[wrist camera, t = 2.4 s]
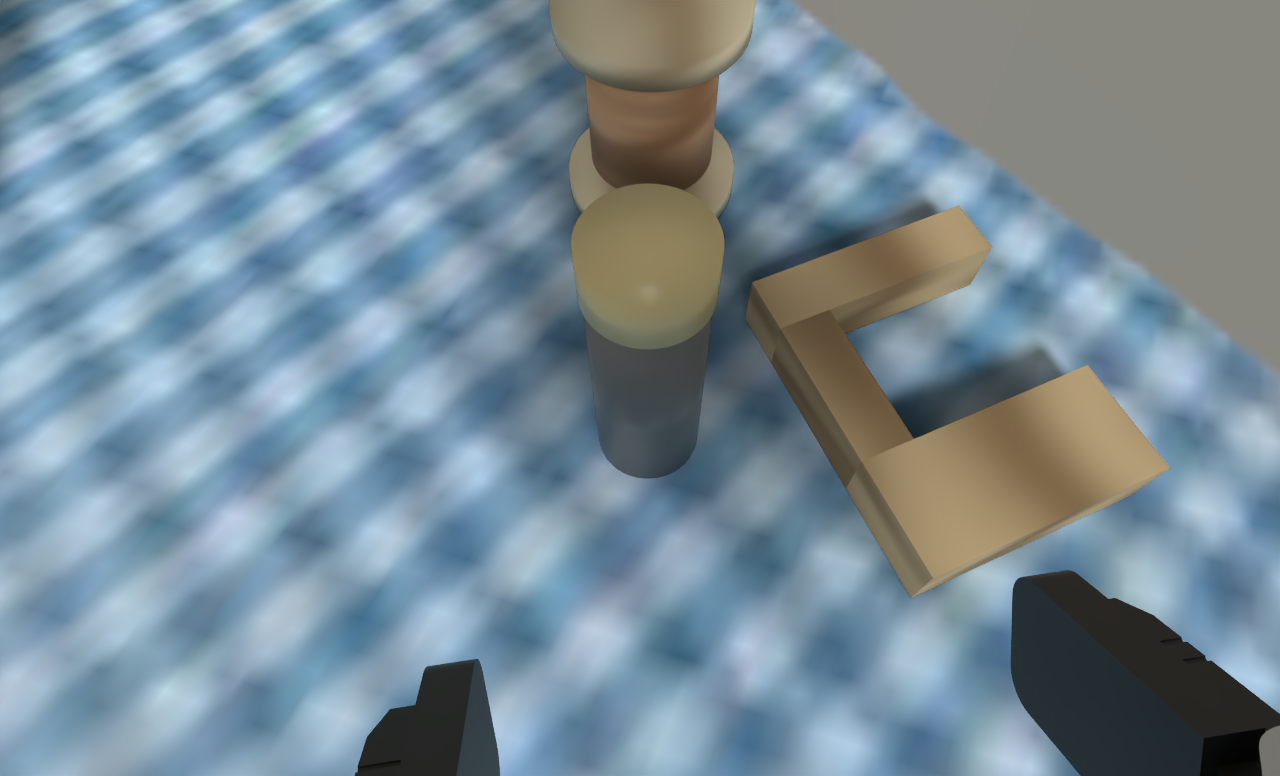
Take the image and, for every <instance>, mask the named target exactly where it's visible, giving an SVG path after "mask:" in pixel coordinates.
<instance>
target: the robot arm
mask: <svg viewBox="0 0 1280 776" xmlns="http://www.w3.org/2000/svg"><path fill="white" fill-rule="evenodd" d="M1011 673H1012V679H1013V683H1014V686H1015V689H1016V692H1017V695H1018V697H1019V699H1020V701H1021V703H1022V705H1023V706H1024V708H1025V709H1026V711H1027V712H1028V713H1029V714H1030V716H1031V717H1032V718H1033V719H1034V720H1035V722H1036V723H1037V724H1038V725H1039V726H1040V728H1041V729H1042V730H1043V731H1044V732H1045V734H1046V735H1047V736H1048V737H1049V738H1050V740H1051V741H1052V742H1053V743H1054V744H1055V746H1056V747H1057V748H1058V749H1059V750H1060V752H1061V753H1062V754H1063V755H1064V756H1065V758H1066V759H1067V760H1068V761H1069V762H1070V764H1071V765H1072V766H1073V767H1074V768H1075V769H1076V771H1077V772H1078V773H1079V774H1080V775H1081V776H1280V714H1279V713H1278V712H1276V711H1275V710H1274V709H1272V708H1271V707H1270V706H1269V705H1267V704H1266V703H1265V702H1264V701H1262V700H1261V699H1260V698H1258V697H1257V696H1256V695H1255V694H1253V693H1252V692H1251V691H1249V690H1248V689H1247V688H1246V687H1244V686H1243V685H1242V684H1240V683H1239V682H1238V681H1237V680H1235V679H1234V678H1233V677H1232V676H1230V675H1229V674H1228V673H1226V672H1225V671H1224V670H1223V669H1221V668H1220V667H1219V666H1217V665H1216V664H1215V663H1214V662H1212V661H1207V660H1206V658H1205V655H1203V654H1202V653H1201V652H1200V651H1198V650H1197V649H1196V648H1194V647H1193V646H1192V645H1191V644H1189V643H1188V642H1183V641H1182V638H1181V637H1180V636H1179V635H1178V634H1177V633H1175V632H1174V631H1173V630H1171V629H1170V628H1169V627H1168V626H1166V625H1165V624H1164V623H1162V622H1161V621H1160V620H1159V619H1157V618H1156V617H1155V616H1154V615H1152V614H1149V613H1147V612H1145V611H1143V610H1141V609H1138V608H1136V607H1134V606H1132V605H1129V604H1127V603H1125V602H1123V601H1121V600H1118V599H1116V598H1112V599H1108V598H1106V597H1105V596H1104V595H1103V594H1101V593H1100V592H1099V591H1098V590H1096V589H1095V588H1094V587H1093V586H1092V585H1090V584H1089V583H1088V582H1087V581H1085V580H1084V579H1083V578H1082V577H1081V576H1079V575H1078V574H1077V573H1075V572H1073V571H1070V570H1066V571H1060V572H1053V573H1047V574H1040V575H1033V576H1027V577H1021V578H1019V579H1017V581H1016V582H1015V584H1014V587H1013V598H1012V637H1011ZM355 776H500V767H499V757H498V749H497V743H496V738H495V733H494V728H493V723H492V717H491V712H490V707H489V702H488V697H487V692H486V686H485V681H484V676H483V671H482V667H481V664H480V662H479V660H478V659H473V660H467V661H460V662H454V663H447V664H441V665H434V666H427V667H426V668H425V670H424V673H423V677H422V681H421V685H420V689H419V693H418V697H417V701H416V705H413V706H407V707H400V708H394V709H390V710H389V711H388V713H387V714H386V715H385V716H384V717H383V719H382V720H381V721H380V722H379V723H378V725H377V726H376V727H375V728H374V729H373V731H372V732H371V733H370V734H369V735H368V737H367V739H366V742H365V745H364V748H363V751H362V755H361V758H360V761H359V764H358V772H357V773H355Z"/></svg>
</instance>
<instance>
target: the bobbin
mask: <svg viewBox="0 0 1280 776" xmlns="http://www.w3.org/2000/svg"><path fill="white" fill-rule="evenodd" d="M755 5H756V0H549V8H550V16H551V25H552V32H553V36H554V41H555V43H556V45H557V47H558V49H559V51H560V52H561V54H562V55H563V57H564V58H565V59H566V60H567V61H568V62H569V63H570V64H571V65H572V66H573V67H574V68H576V69H577V70H578V71H579V72H581V73H583V74H584V75H585V82H586V94H587V106H588V118H589V128H588V129H587V130H586V131H585V132H584V133H583V134H582V135H581V136H580V138H579V139H578V141H577V142H576V144H575V146H574V148H573V150H572V153H571V156H570V162H569V175H570V183H571V191H572V195H573V199H574V202H575V204H576V206H577V208H578V210H579V211H580V213H581V214H582V213H583V211H584V210H585V209H586V208H587V207H588V206H589V205H590V204H591V203H592V202H593V201H595V200H596V199H598V198H599V197H601V196H602V195H604V194H606V193H608V192H610V191H613V190H615V189H618V188H621V187H625V186H629V185H635V184H661V185H667V186H671V187H675V188H678V189H681V190H684V191H686V192H688V193H690V194H692V195H693V196H695V197H697V198H698V199H700V200H701V201H702V202H703V203H705V204H706V205H707V206H708V207H709V208H710V209H711V210H712V212H713V213H714V214H715V216H716V217H717V219H718V218H719V216H720V215H721V214H722V212H723V211H724V209H725V207H726V206H727V204H728V201H729V198H730V195H731V189H732V182H733V174H734V161H733V156H732V153H731V150H730V147H729V145H728V144H727V142H726V140H725V139H724V137H723V136H722V135H721V134H720V133H719V132H718V131H717V130H716V129H715V128H714V124H715V113H716V102H717V92H718V81H719V75H720V74H721V73H723V72H724V71H726V70H727V69H728V68H730V67H731V66H732V65H733V64H734V63H735V62H736V61H737V60H738V59H739V58H740V57H741V55H742V54H743V53H744V51H745V49H746V48H747V46H748V43H749V41H750V38H751V34H752V28H753V20H754V12H755Z"/></svg>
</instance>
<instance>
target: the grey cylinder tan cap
mask: <svg viewBox="0 0 1280 776" xmlns="http://www.w3.org/2000/svg"><path fill="white" fill-rule="evenodd" d="M571 253H572V260H573V268H574V275H575V283H576V290H577V298H578V302H579V306H580V309H581V312H582V314H583V316H584V324H585V332H586V340H587V347H588V355H589V363H590V371H591V379H592V387H593V395H594V403H595V411H596V419H597V427H598V435H599V442H600V446H601V448H602V451H603V453H604V455H605V456H606V458H607V459H608V460H609V462H610V463H611V464H612V465H613V466H615V467H616V468H617V469H618V470H620V471H622V472H623V473H626V474H628V475H631V476H634V477H639V478H657V477H662V476H665V475H668V474H670V473H672V472H674V471H676V470H677V469H679V468H680V467H681V466H682V465H684V464H685V462H686V461H687V460H688V459H689V458H690V456H691V455H692V453H693V451H694V448H695V445H696V441H697V434H698V425H699V417H700V409H701V401H702V393H703V385H704V377H705V369H706V361H707V353H708V345H709V336H710V328H711V320H712V314H713V313H714V311H715V308H716V305H717V301H718V294H719V287H720V279H721V271H722V264H723V256H724V235H723V231H722V228H721V225H720V223H719V221H718V219H717V217H716V216H715V214H714V213H713V212H712V210H711V209H710V208H709V207H708V206H707V205H706V204H705V203H703V202H702V201H701V200H700V199H698V198H697V197H695V196H693V195H692V194H690V193H688V192H686V191H684V190H681V189H678V188H675V187H671V186H667V185H661V184H635V185H629V186H625V187H621V188H618V189H615V190H613V191H610V192H608V193H606V194H604V195H602V196H601V197H599V198H598V199H596V200H595V201H593V202H592V203H591V204H590V205H589V206H588V207H587V208H586V209H585V210H584V211H583V213H582V214H581V215H580V217H579V218H578V220H577V222H576V224H575V226H574V229H573V233H572V238H571Z"/></svg>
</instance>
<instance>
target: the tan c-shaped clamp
mask: <svg viewBox="0 0 1280 776" xmlns="http://www.w3.org/2000/svg"><path fill="white" fill-rule="evenodd" d="M991 248H992V246H991V245H990V244H989V242H988V241H987V240H986V239H985V237H984V236H983V235H982V234H981V232H980V231H979V230H978V229H977V227H976V226H975V225H974V224H973V222H972V221H971V220H970V219H969V217H968V216H967V215H966V214H965V212H964V211H963V210H962V209H961V207H960V206H957V207H954V208H951V209H948V210H946V211H943V212H940V213H938V214H935V215H932V216H930V217H927V218H924V219H921V220H919V221H916V222H913V223H911V224H908V225H905V226H903V227H900V228H897V229H894V230H892V231H889V232H886V233H884V234H881V235H878V236H876V237H873V238H870V239H867V240H865V241H862V242H859V243H857V244H854V245H851V246H849V247H846V248H843V249H840V250H838V251H835V252H832V253H830V254H827V255H824V256H822V257H819V258H816V259H813V260H811V261H808V262H805V263H803V264H800V265H797V266H795V267H792V268H789V269H787V270H784V271H781V272H778V273H776V274H773V275H770V276H768V277H765V278H762V279H760V280H757V281H754V282H752V285H751V290H750V295H749V300H748V306H747V311H746V316H745V319H746V321H747V322H748V324H749V326H750V327H751V329H752V331H753V332H754V334H755V336H756V337H757V339H758V341H759V342H760V344H761V346H762V348H763V349H764V351H765V353H766V354H767V356H768V358H769V359H770V361H771V363H772V364H773V366H774V368H775V370H776V371H777V373H778V375H779V376H780V378H781V380H782V381H783V383H784V385H785V386H786V388H787V390H788V391H789V393H790V395H791V397H792V398H793V400H794V402H795V403H796V405H797V407H798V408H799V410H800V412H801V413H802V415H803V417H804V418H805V420H806V422H807V424H808V425H809V427H810V429H811V430H812V432H813V434H814V435H815V437H816V439H817V440H818V442H819V444H820V445H821V447H822V449H823V451H824V452H825V454H826V456H827V457H828V459H829V461H830V462H831V464H832V466H833V467H834V469H835V471H836V473H837V474H838V476H839V478H840V479H841V481H842V483H843V484H844V486H845V488H846V489H847V491H848V493H849V494H850V496H851V498H852V500H853V501H854V503H855V505H856V506H857V508H858V510H859V511H860V513H861V515H862V516H863V518H864V520H865V521H866V523H867V525H868V527H869V528H870V530H871V532H872V533H873V535H874V537H875V538H876V540H877V542H878V543H879V545H880V547H881V549H882V550H883V552H884V554H885V555H886V557H887V559H888V560H889V562H890V564H891V565H892V567H893V569H894V570H895V572H896V574H897V576H898V577H899V579H900V581H901V582H902V584H903V586H904V587H905V589H906V591H907V592H908V594H909V596H910V597H911V598H912V597H914V596H916V595H918V594H921V593H923V592H925V591H927V590H929V589H931V588H933V587H936V586H938V585H940V584H942V583H944V582H946V581H948V580H951V579H953V578H955V577H957V576H959V575H961V574H963V573H966V572H968V571H970V570H972V569H974V568H976V567H978V566H980V565H983V564H985V563H987V562H989V561H991V560H993V559H995V558H998V557H1000V556H1002V555H1004V554H1006V553H1008V552H1010V551H1013V550H1015V549H1017V548H1019V547H1021V546H1023V545H1025V544H1028V543H1030V542H1032V541H1034V540H1036V539H1038V538H1040V537H1042V536H1045V535H1047V534H1049V533H1051V532H1053V531H1055V530H1057V529H1060V528H1062V527H1064V526H1066V525H1068V524H1070V523H1072V522H1075V521H1077V520H1079V519H1081V518H1083V517H1085V516H1087V515H1090V514H1092V513H1094V512H1096V511H1098V510H1100V509H1102V508H1104V507H1107V506H1109V505H1111V504H1113V503H1115V502H1117V501H1119V500H1122V499H1124V498H1126V497H1128V496H1130V495H1132V494H1134V493H1135V492H1136V491H1138V490H1139V489H1141V488H1142V487H1144V486H1145V485H1146V484H1148V483H1149V482H1151V481H1152V480H1154V479H1155V478H1156V477H1158V476H1159V475H1161V474H1162V473H1164V472H1165V471H1167V470H1168V469H1169V468H1170V467H1169V466H1168V465H1167V463H1166V462H1165V461H1164V460H1163V458H1162V457H1161V456H1160V455H1159V453H1158V452H1157V451H1156V450H1155V448H1154V447H1153V446H1152V445H1151V443H1150V442H1149V441H1148V440H1147V439H1146V437H1145V436H1144V435H1143V434H1142V432H1141V431H1140V430H1139V429H1138V427H1137V426H1136V425H1135V424H1134V422H1133V421H1132V420H1131V419H1130V417H1129V416H1128V415H1127V414H1126V412H1125V411H1124V410H1123V409H1122V407H1121V406H1120V405H1119V404H1118V402H1117V401H1116V400H1115V399H1114V398H1113V396H1112V395H1111V394H1110V393H1109V391H1108V390H1107V389H1106V388H1105V386H1104V385H1103V384H1102V383H1101V381H1100V380H1099V379H1098V378H1097V376H1096V375H1095V374H1094V373H1093V371H1092V370H1091V369H1090V368H1089V366H1088V365H1086V366H1084V367H1082V368H1079V369H1077V370H1075V371H1072V372H1070V373H1067V374H1065V375H1063V376H1060V377H1058V378H1056V379H1053V380H1051V381H1049V382H1046V383H1044V384H1042V385H1039V386H1037V387H1035V388H1032V389H1030V390H1028V391H1025V392H1023V393H1021V394H1018V395H1016V396H1014V397H1011V398H1009V399H1007V400H1004V401H1002V402H1000V403H997V404H995V405H993V406H990V407H988V408H985V409H983V410H981V411H978V412H976V413H974V414H971V415H969V416H967V417H964V418H962V419H960V420H957V421H955V422H953V423H950V424H948V425H946V426H943V427H941V428H939V429H936V430H934V431H932V432H929V433H927V434H925V435H922V436H920V437H918V438H915V439H914V438H913V437H912V435H911V433H910V432H909V430H908V429H907V427H906V426H905V424H904V423H903V421H902V420H901V418H900V417H899V415H898V414H897V412H896V411H895V409H894V407H893V406H892V404H891V403H890V401H889V400H888V398H887V397H886V395H885V394H884V392H883V391H882V389H881V388H880V386H879V385H878V383H877V382H876V380H875V378H874V377H873V375H872V374H871V372H870V371H869V369H868V368H867V366H866V365H865V363H864V362H863V360H862V359H861V357H860V356H859V354H858V353H857V351H856V349H855V348H854V346H853V345H852V343H851V342H850V340H849V339H848V337H847V336H846V334H845V333H848V332H850V331H853V330H855V329H858V328H860V327H863V326H866V325H868V324H871V323H873V322H876V321H878V320H881V319H883V318H886V317H889V316H891V315H894V314H896V313H899V312H901V311H904V310H906V309H909V308H911V307H914V306H917V305H919V304H922V303H924V302H927V301H929V300H932V299H934V298H937V297H939V296H942V295H945V294H947V293H950V292H952V291H955V290H957V289H960V288H962V287H965V286H968V285H970V284H971V282H972V281H973V279H974V277H975V275H976V274H977V272H978V270H979V269H980V267H981V265H982V264H983V262H984V260H985V259H986V257H987V255H988V253H989V252H990V250H991Z"/></svg>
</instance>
